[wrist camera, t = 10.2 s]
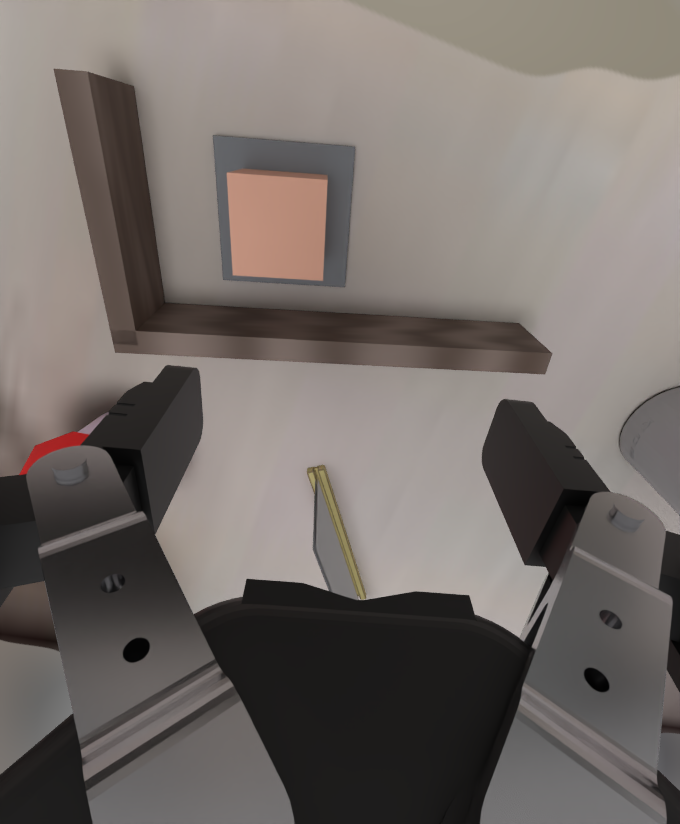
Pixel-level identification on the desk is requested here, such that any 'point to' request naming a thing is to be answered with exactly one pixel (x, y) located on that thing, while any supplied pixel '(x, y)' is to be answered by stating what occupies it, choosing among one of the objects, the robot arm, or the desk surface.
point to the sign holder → (332, 540)
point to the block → (277, 223)
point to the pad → (300, 160)
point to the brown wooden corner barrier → (236, 326)
